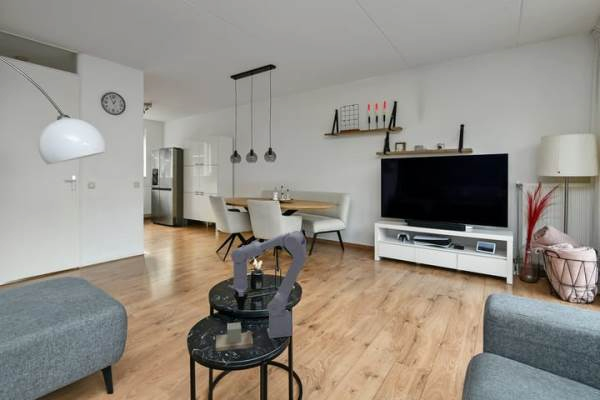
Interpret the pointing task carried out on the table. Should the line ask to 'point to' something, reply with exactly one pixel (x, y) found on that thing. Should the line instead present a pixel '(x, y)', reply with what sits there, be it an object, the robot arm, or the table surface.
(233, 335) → the grey block
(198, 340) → the table surface
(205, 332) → the table surface
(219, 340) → the stub board
